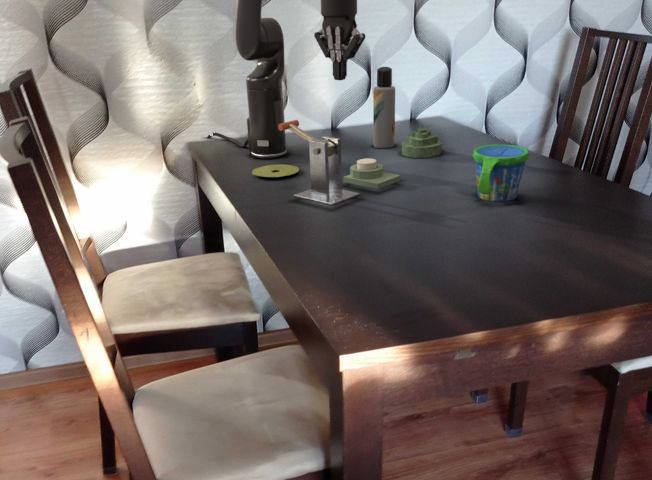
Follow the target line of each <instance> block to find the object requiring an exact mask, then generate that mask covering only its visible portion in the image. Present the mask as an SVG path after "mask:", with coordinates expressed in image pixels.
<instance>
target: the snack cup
mask: <svg viewBox="0 0 652 480" xmlns="http://www.w3.org/2000/svg"><path fill="white" fill-rule="evenodd" d="M529 154H530V152H529V150H528V149H527V148H526V147H523V146H519V145H513V144H488V145H482V146H479V147H476V148H475V149H474V150H473V153H472V158H473V160H474V163H475V179H476V188H477V193H476V194H477V197H478V198H479V199H481V200H484V201H488V202H508V201H511V200H516V198H517V196H518V192H519V188H520V184H521V181H522V177H523V172H524V168H525V165H526V163H527V160H528V158H529V156H530V155H529Z"/></svg>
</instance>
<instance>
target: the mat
mask: <svg viewBox="0 0 652 480" xmlns="http://www.w3.org/2000/svg"><path fill="white" fill-rule="evenodd" d="M299 171H300V168H299V167H298V166H295V165H292V164H283V163H282V164H279V163H278V164H269V165H264V166H260V167H256V168H254V169H253V170H252V171H251V174H252V175H253V176H257V177H263V178H280V177H286V176H291V175H294V174H296V173H298V172H299Z"/></svg>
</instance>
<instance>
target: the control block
mask: <svg viewBox="0 0 652 480" xmlns="http://www.w3.org/2000/svg"><path fill="white" fill-rule="evenodd" d="M401 179H402V175H401V174H396V173H390V172H385V170H384V165H383V164H381V163H377V168H376V169H372V170H360V169H357V163H356V164H355V163H354V164H352V165H351V166H350V168H349V174H348V175H345V176H343V183H346V184H351V185H356V186H360V187H365V188H369V189H370V188H371V189H376V190H380V189H382V188H385V187H388V186H390V185H393V184H396V183H398V182H401V181H402V180H401Z"/></svg>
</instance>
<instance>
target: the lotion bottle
mask: <svg viewBox="0 0 652 480" xmlns="http://www.w3.org/2000/svg"><path fill="white" fill-rule="evenodd" d="M372 90H373V94H372V95H373V98H372V99H373V118H372V120H373V123H372V124H373V125H372V126H373V127H372V128H373V130H372V131H373V132H372V133H373V134H372V135H373V140H372V141H373V147H374V148H376V149H390V148H393V147H395V142H396V141H395V138H396V133H395V132H396V86H394V85H393V68H391V67H390V66H380V67H378V68H377V69H376V86H374V87H373V89H372Z"/></svg>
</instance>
